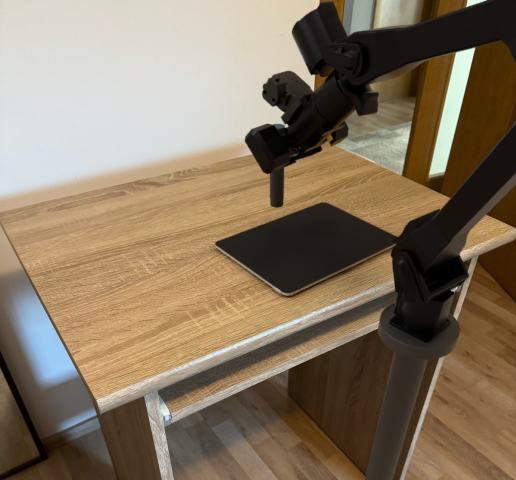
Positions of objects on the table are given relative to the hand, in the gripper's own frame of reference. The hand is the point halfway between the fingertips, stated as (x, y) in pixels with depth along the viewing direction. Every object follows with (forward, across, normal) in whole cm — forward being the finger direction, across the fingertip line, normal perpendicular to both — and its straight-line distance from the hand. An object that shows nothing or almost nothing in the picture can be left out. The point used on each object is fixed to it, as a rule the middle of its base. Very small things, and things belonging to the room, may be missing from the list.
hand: (270, 165), depth 80 cm
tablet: (+4, -1, +14) cm, 15 cm away
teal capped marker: (+4, 0, +6) cm, 7 cm away
